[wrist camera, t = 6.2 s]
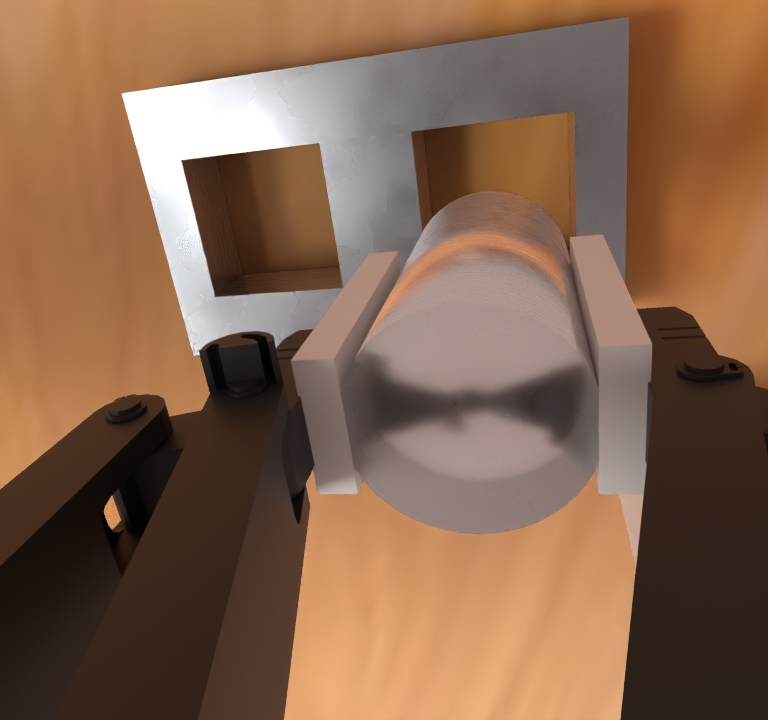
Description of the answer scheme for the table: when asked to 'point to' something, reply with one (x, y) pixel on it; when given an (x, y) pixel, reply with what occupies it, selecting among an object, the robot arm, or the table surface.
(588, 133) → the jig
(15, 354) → the table surface
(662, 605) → the robot arm
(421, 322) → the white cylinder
